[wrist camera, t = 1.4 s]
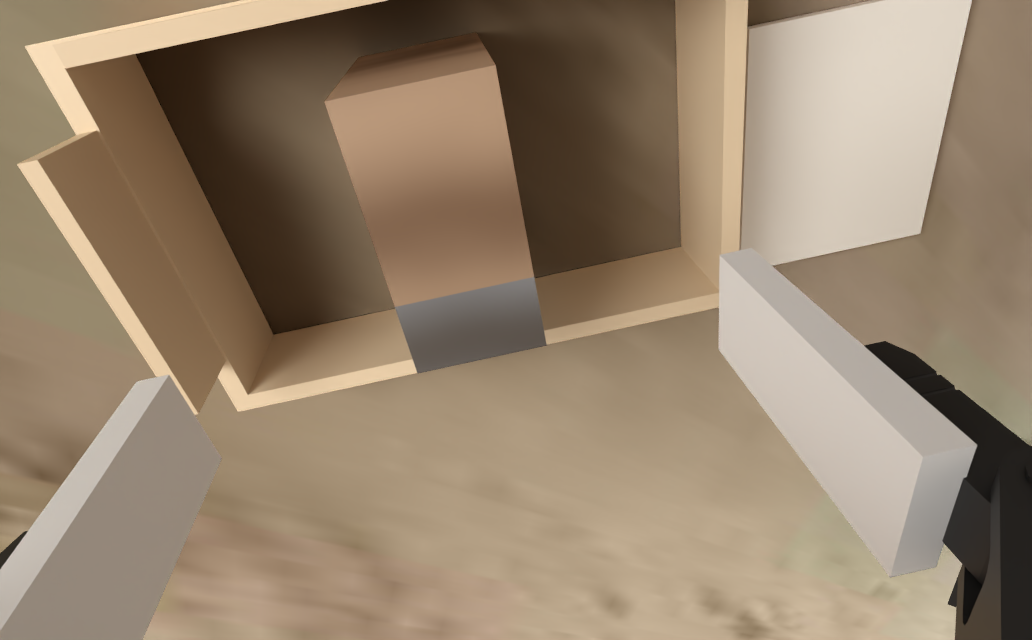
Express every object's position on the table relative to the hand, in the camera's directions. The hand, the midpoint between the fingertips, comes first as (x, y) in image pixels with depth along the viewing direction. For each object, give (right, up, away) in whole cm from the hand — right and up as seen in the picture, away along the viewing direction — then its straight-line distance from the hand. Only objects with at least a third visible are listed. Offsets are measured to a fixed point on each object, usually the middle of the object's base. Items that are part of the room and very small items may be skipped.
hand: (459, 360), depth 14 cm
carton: (-2, +8, +13) cm, 15 cm away
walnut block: (-2, +8, +13) cm, 15 cm away
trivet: (+17, +10, +15) cm, 25 cm away
